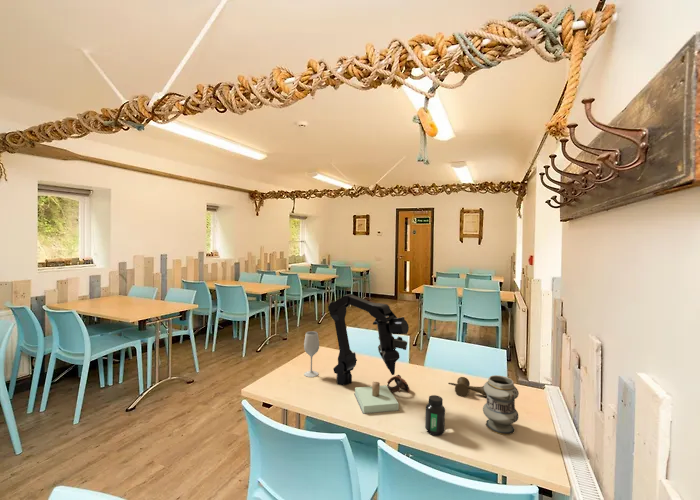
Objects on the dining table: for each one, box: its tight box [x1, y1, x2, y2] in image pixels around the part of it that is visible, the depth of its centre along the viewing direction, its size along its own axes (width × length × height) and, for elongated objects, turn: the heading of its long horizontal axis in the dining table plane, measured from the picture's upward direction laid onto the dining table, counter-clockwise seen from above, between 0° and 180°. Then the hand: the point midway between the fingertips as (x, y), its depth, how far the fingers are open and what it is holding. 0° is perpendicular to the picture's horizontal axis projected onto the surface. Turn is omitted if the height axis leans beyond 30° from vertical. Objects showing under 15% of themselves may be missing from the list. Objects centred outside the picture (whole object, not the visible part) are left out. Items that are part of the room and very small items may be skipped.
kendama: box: [448, 376, 487, 398], centre depth 149 cm, size 6×10×20 cm
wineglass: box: [303, 330, 320, 378], centre depth 166 cm, size 8×8×21 cm
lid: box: [354, 381, 399, 414], centre depth 138 cm, size 14×16×8 cm
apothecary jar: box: [482, 374, 519, 436], centre depth 122 cm, size 12×12×18 cm
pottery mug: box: [386, 374, 410, 394], centre depth 149 cm, size 12×10×8 cm
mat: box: [353, 392, 400, 415], centre depth 138 cm, size 15×17×1 cm
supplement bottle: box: [424, 394, 446, 437], centre depth 119 cm, size 7×7×12 cm
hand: (391, 371), depth 139 cm, fingers open, 9 cm apart
